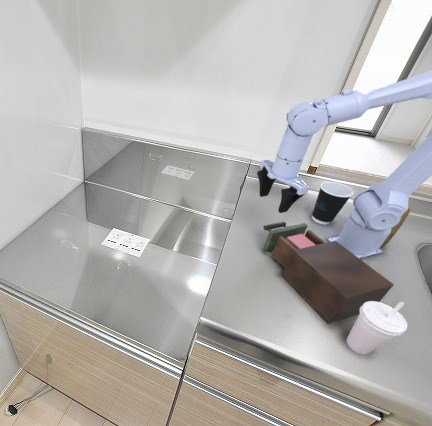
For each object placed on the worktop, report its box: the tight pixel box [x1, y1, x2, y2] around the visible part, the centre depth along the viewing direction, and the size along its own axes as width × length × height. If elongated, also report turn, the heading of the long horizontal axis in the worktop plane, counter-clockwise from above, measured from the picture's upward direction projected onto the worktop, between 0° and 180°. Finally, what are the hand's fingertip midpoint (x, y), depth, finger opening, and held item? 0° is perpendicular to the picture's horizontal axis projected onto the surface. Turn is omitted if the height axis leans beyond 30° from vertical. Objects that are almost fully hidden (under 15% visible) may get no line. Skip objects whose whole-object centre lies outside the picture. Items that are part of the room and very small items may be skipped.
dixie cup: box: [311, 181, 355, 225], centre depth 85 cm, size 8×8×11 cm
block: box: [286, 234, 315, 249], centre depth 72 cm, size 4×4×5 cm
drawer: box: [262, 220, 327, 269], centre depth 73 cm, size 17×10×7 cm, turn 15°
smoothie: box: [345, 301, 408, 356], centre depth 53 cm, size 6×6×14 cm
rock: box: [380, 207, 411, 249], centre depth 80 cm, size 11×9×10 cm
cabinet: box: [281, 241, 395, 325], centre depth 64 cm, size 14×12×9 cm
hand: (272, 203), depth 78 cm, fingers open, 7 cm apart
